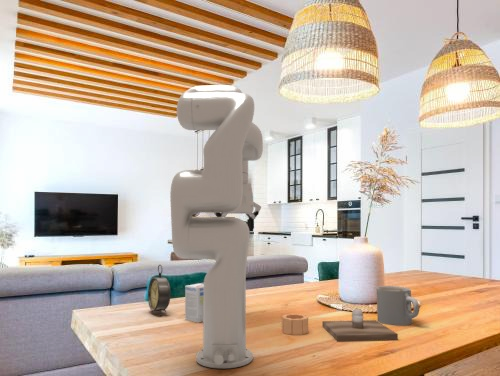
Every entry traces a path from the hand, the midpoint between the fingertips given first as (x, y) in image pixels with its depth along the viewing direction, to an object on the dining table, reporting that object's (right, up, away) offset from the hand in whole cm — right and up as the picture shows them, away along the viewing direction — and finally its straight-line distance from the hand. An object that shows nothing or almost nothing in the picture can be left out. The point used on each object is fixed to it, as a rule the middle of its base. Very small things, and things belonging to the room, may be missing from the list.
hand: (236, 231), depth 134 cm
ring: (+17, -26, -19) cm, 36 cm away
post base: (+34, -26, -21) cm, 47 cm away
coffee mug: (+49, -27, -9) cm, 57 cm away
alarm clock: (-26, -28, +4) cm, 38 cm away
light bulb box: (-10, -28, -3) cm, 30 cm away
